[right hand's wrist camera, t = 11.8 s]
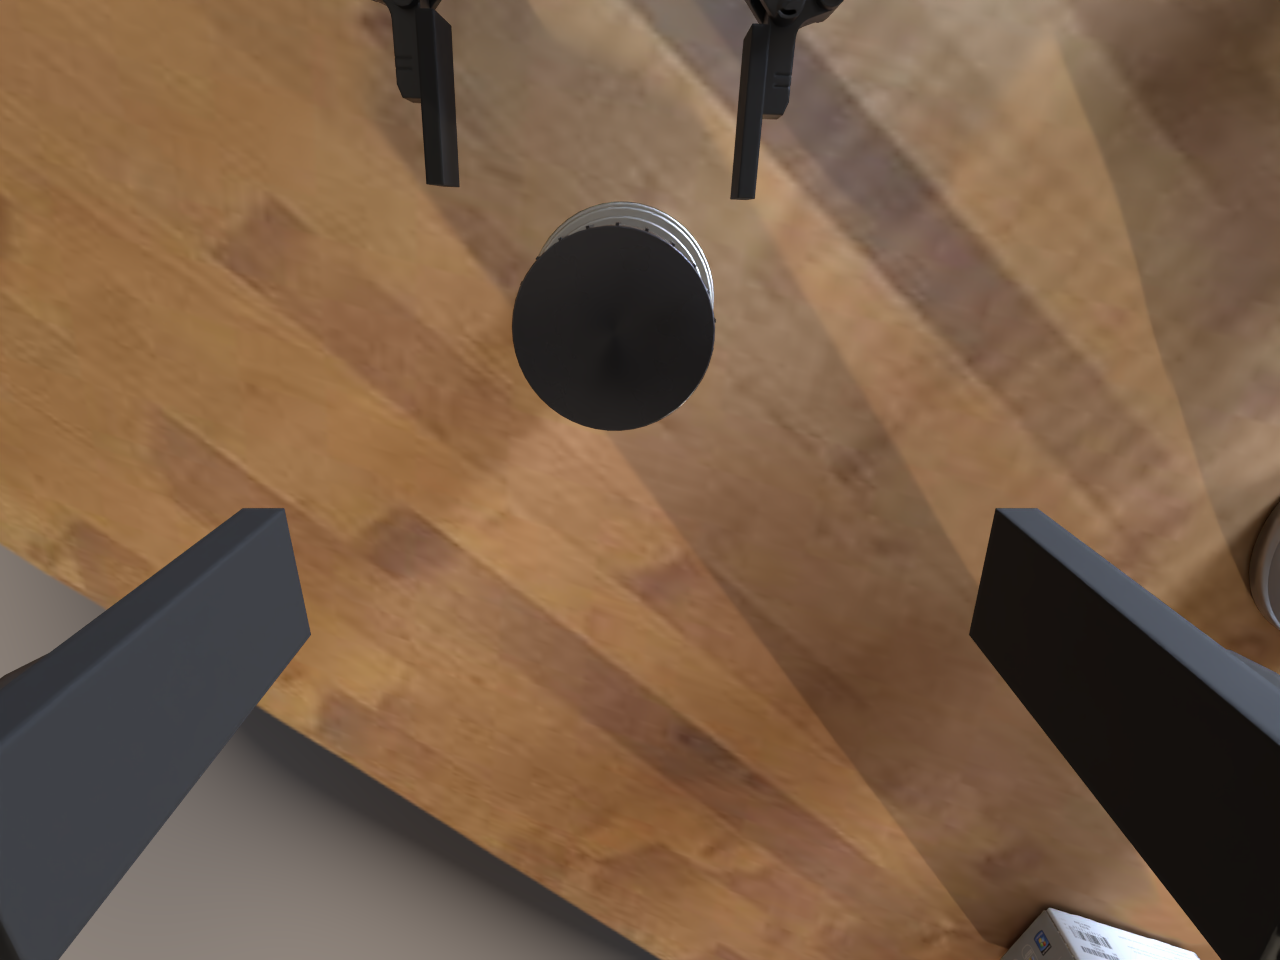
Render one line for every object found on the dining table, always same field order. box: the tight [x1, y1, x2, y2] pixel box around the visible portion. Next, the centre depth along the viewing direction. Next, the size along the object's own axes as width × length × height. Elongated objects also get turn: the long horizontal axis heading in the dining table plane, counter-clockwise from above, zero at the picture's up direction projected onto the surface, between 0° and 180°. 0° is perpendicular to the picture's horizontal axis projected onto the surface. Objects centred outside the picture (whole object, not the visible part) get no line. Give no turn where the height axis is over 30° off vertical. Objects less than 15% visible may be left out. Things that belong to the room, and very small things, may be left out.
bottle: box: [539, 202, 714, 308], centre depth 27 cm, size 6×6×24 cm
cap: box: [512, 222, 716, 431], centre depth 16 cm, size 5×5×2 cm
